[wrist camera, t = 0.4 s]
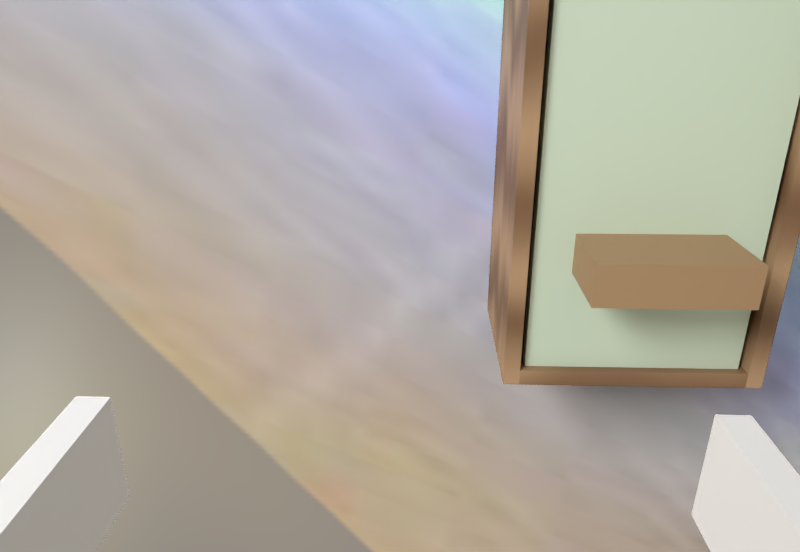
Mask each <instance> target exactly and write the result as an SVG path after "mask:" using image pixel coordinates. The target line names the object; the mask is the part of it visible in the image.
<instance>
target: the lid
mask: <svg viewBox="0 0 800 552" xmlns="http://www.w3.org/2000/svg"><path fill="white" fill-rule="evenodd" d="M799 97H800V0H550V6H549V19H548V32H547V45H546V57H545V70H544V83H543V95H542V108H541V121H540V133H539V146H538V159H537V172H536V184H535V197H534V210H533V222H532V235H531V248H530V261H529V273H528V286H527V299H526V311H525V324H524V337H523V349H522V358H523V362H524V365H525V366H566V367H631V368H695V369H738V367H739V362H740V358H741V353H742V349H743V344H744V340H745V336H746V331H747V327H748V322H749V318H750V314H751V310H759V307H760V303H761V298H762V294H763V290H764V285H765V281H766V277H767V272H768V268H769V266H768V265H767V264H765V263H764V262H763V256H764V252H765V247H766V243H767V238H768V234H769V230H770V225H771V221H772V216H773V212H774V208H775V203H776V199H777V194H778V190H779V185H780V181H781V177H782V172H783V168H784V163H785V159H786V155H787V150H788V146H789V141H790V137H791V132H792V128H793V124H794V119H795V115H796V110H797V106H798V101H799Z"/></svg>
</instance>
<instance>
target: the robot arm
mask: <svg viewBox="0 0 800 552" xmlns="http://www.w3.org/2000/svg"><path fill="white" fill-rule="evenodd" d="M128 498H129V491H128V486H127V480H126V476H125V470H124V465H123V460H122V454H121V449H120V444H119V439H118V434H117V428H116V423H115V419H114V413H113V408H112V402H111V397H89V396H76V397H75V398H74V399H73V400H72V401H71V403H70V404H69V405H68V406H67V407H66V408H65V409H64V410H63V412H62V413H61V414H60V415H59V416H58V417H57V418H56V419H55V420H54V422H53V423H52V424H51V425H50V426H49V427H48V428H47V430H46V431H45V432H44V433H43V434H42V435H41V436H40V437H39V439H38V440H37V441H36V442H35V443H34V444H33V445H32V446H31V447H30V449H29V450H28V451H27V452H26V453H25V454H24V455H23V456H22V457H21V459H20V460H19V461H18V462H17V463H16V464H15V465H14V467H12V469H11V470H10V471H9V472H8V473H7V474H6V475H5V477H4V478H3V479H2V480H1V481H0V552H96V551H97V549H98V548H99V546H100V544H101V543H102V541H103V539H104V538H105V536H106V534H107V533H108V531H109V529H110V528H111V526H112V524H113V523H114V521H115V519H116V518H117V516H118V515H119V513H120V511H121V510H122V508H123V506H124V505H125V503H126V501H127V500H128ZM692 517H693V519H694V521H695V523H696V524H697V526H698V528H699V530H700V532H701V534H702V536H703V538H704V540H705V542H706V544H707V545H708V547H709V549H710V551H711V552H800V476H799V474H798V473H797V472H796V471H795V469H794V468H793V467H792V466H791V464H790V463H789V462H788V461H787V459H786V458H785V457H784V456H783V454H782V453H781V452H780V451H779V449H778V448H777V447H776V446H775V444H774V443H773V442H772V441H771V439H770V438H769V437H768V436H767V434H766V433H765V432H764V431H763V429H762V428H761V427H760V426H759V424H758V423H757V422H756V421H755V419H754V418H753V417H752V416H751V415H718V414H715V417H714V421H713V426H712V430H711V434H710V438H709V443H708V447H707V451H706V455H705V459H704V464H703V468H702V472H701V476H700V481H699V485H698V489H697V493H696V498H695V502H694V506H693V510H692Z"/></svg>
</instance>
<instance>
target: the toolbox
mask: <svg viewBox="0 0 800 552" xmlns="http://www.w3.org/2000/svg"><path fill="white" fill-rule="evenodd" d="M549 6H550V0H504V15H503V34H502V52H501V71H500V89H499V108H498V126H497V145H496V164H495V182H494V201H493V219H492V238H491V256H490V275H489V294H488V313H489V318H490V322H491V327H492V332H493V337H494V342H495V346H496V351H497V356H498V361H499V365H500V370H501V375H502V380H503V384H529V385H590V386H651V387H712V388H762V384H763V379H764V375H765V371H766V367H767V363H768V359H769V355H770V351H771V347H772V343H773V339H774V335H775V331H776V326H777V322H778V318H779V314H780V310H781V306H782V302H783V298H784V294H785V290H786V286H787V282H788V278H789V274H790V269H791V265H792V261H793V257H794V253H795V249H796V245H797V241H798V237H799V233H800V97H799V101H798V106H797V110H796V115H795V119H794V124H793V128H792V132H791V137H790V141H789V146H788V150H787V155H786V159H785V163H784V168H783V172H782V177H781V181H780V185H779V190H778V194H777V199H776V203H775V208H774V212H773V216H772V221H771V225H770V230H769V234H768V238H767V243H766V247H765V252H764V256H763V262H764V263H765V264H767V265H768V266H769V268H768V272H767V277H766V281H765V285H764V290H763V294H762V298H761V303H760V307H759V310H751V314H750V318H749V322H748V327H747V331H746V336H745V340H744V344H743V349H742V353H741V358H740V362H739V367H738V369H695V368H631V367H566V366H525V365H524V362H523V358H522V349H523V337H524V324H525V311H526V299H527V286H528V273H529V261H530V248H531V235H532V222H533V210H534V197H535V184H536V172H537V159H538V146H539V133H540V121H541V108H542V95H543V83H544V70H545V57H546V45H547V32H548V19H549Z"/></svg>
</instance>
